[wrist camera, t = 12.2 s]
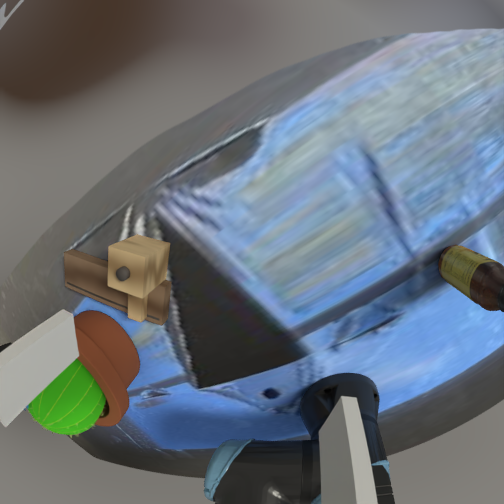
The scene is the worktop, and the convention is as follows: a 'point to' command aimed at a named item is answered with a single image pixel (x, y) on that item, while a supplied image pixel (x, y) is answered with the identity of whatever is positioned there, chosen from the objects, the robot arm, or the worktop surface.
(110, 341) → the potted cactus
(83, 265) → the board
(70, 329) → the robot arm
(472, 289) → the sauce bottle
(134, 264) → the tan wooden block
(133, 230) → the worktop surface
